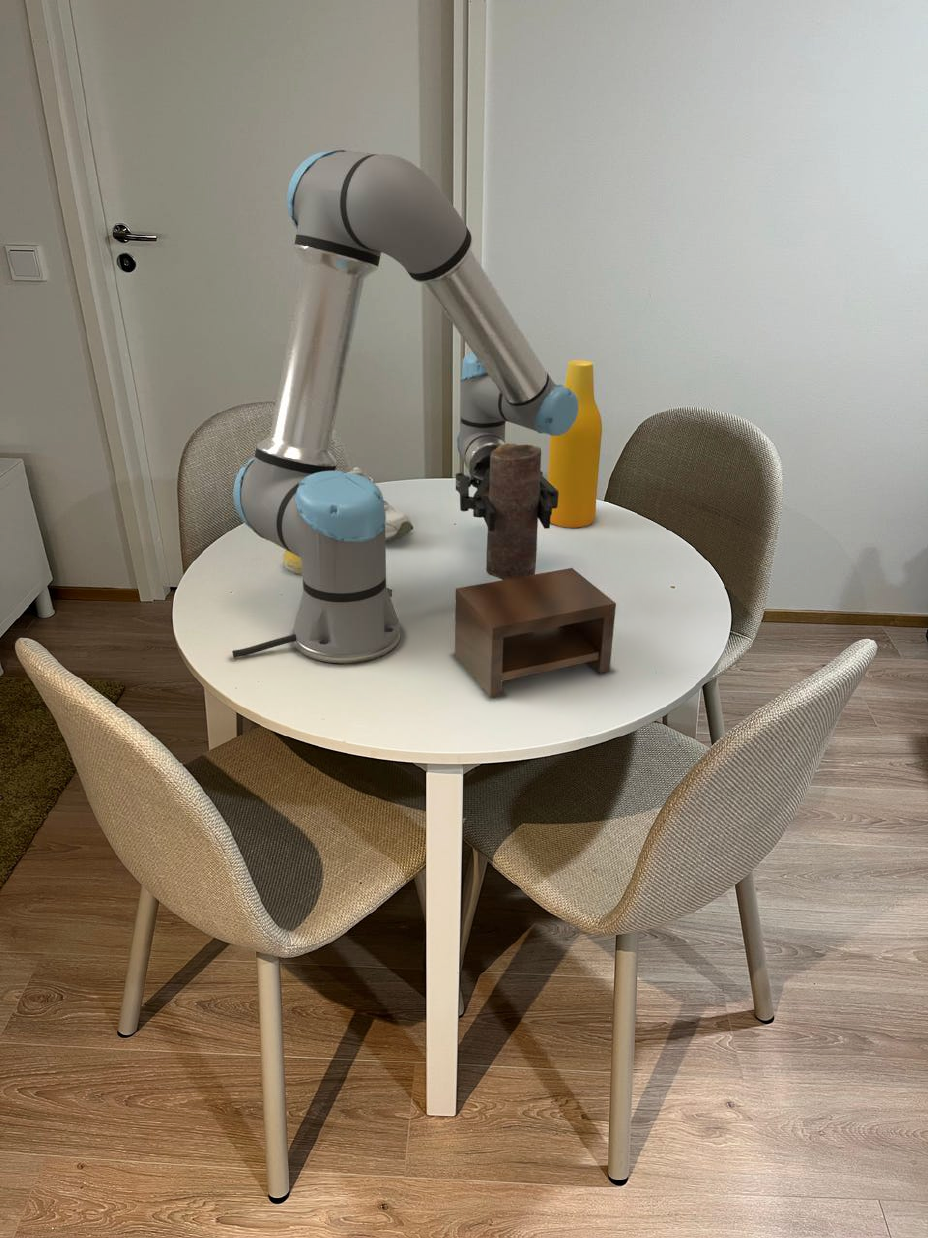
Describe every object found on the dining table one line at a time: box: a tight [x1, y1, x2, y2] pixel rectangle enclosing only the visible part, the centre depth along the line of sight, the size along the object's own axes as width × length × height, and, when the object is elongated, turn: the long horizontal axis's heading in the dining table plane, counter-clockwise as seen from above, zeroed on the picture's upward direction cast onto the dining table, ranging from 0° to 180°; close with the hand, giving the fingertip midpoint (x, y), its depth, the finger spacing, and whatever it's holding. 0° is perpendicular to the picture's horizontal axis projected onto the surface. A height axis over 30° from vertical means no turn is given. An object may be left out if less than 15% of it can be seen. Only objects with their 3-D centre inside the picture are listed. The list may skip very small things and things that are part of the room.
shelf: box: [454, 567, 617, 699], centre depth 133 cm, size 18×12×10 cm, turn 113°
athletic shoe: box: [335, 466, 414, 542], centre depth 176 cm, size 10×23×12 cm, turn 52°
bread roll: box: [282, 549, 302, 575], centre depth 162 cm, size 8×9×4 cm
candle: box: [485, 443, 542, 580], centre depth 141 cm, size 8×7×20 cm
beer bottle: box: [547, 359, 603, 529], centre depth 176 cm, size 9×9×29 cm
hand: (520, 520), depth 137 cm, fingers closed on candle, 7 cm apart
